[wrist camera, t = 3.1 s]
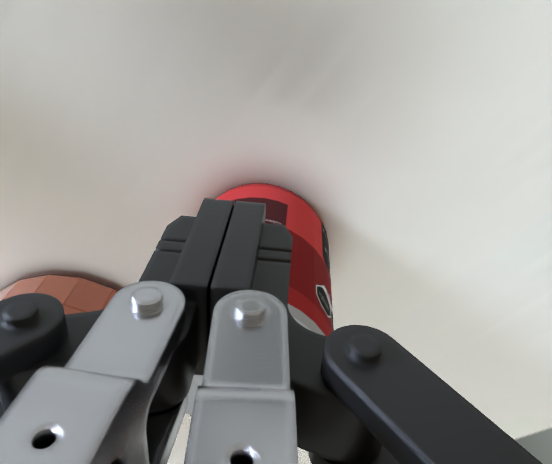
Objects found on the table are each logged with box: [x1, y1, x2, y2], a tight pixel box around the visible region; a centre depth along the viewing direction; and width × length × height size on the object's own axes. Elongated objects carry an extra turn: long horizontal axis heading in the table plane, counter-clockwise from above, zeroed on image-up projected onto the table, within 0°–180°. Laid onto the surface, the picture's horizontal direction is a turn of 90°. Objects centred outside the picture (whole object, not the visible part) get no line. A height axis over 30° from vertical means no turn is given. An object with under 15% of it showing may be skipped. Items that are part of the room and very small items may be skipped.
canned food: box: [186, 183, 334, 416], centre depth 26 cm, size 8×8×11 cm
